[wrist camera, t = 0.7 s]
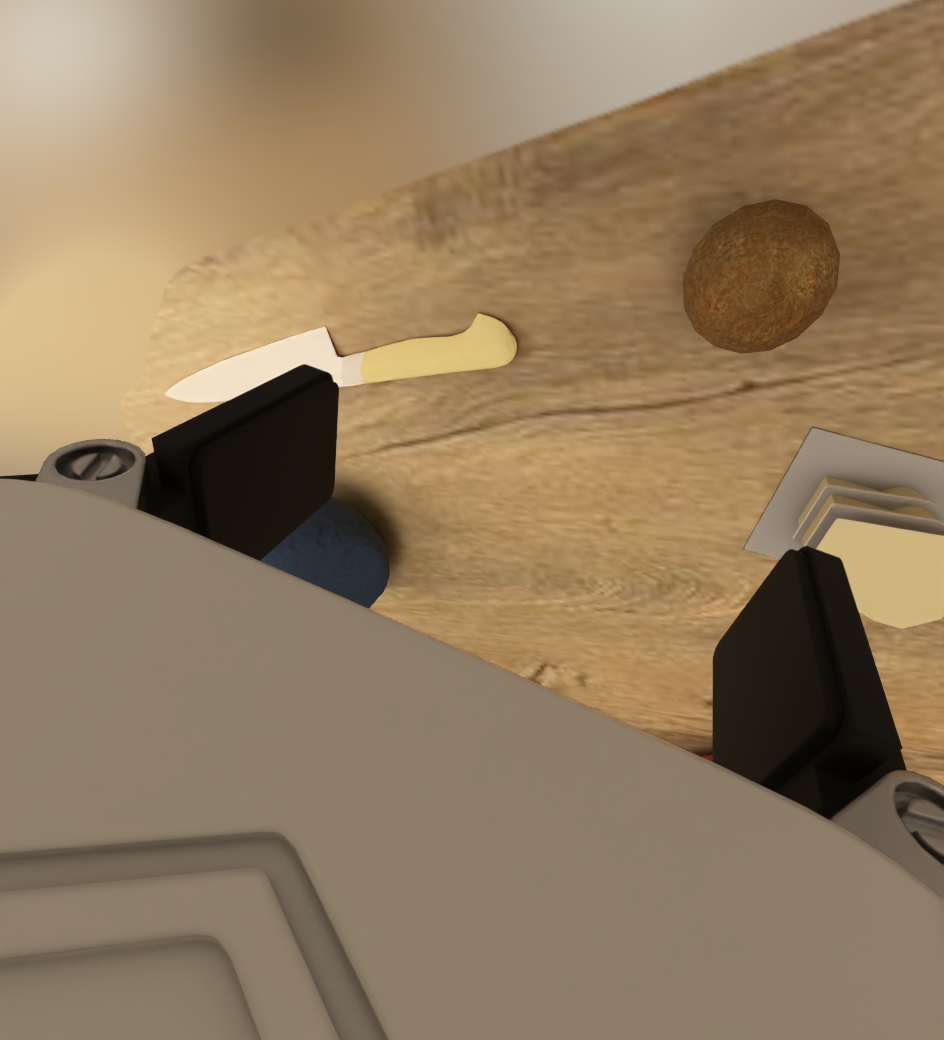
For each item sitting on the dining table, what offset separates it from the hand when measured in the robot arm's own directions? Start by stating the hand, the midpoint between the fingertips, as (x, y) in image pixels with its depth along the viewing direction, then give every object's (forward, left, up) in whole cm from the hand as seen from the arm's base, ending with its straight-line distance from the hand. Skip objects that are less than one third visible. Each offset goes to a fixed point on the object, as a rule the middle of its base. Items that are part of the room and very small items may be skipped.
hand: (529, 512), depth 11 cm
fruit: (-2, +4, -24) cm, 25 cm away
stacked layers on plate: (+9, +16, -24) cm, 31 cm away
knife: (+11, -22, -24) cm, 34 cm away
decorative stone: (+26, -18, -24) cm, 39 cm away
